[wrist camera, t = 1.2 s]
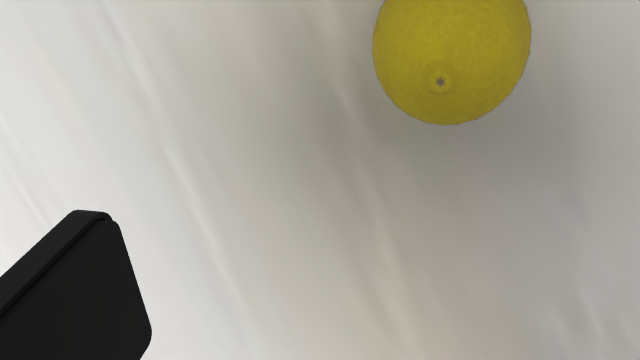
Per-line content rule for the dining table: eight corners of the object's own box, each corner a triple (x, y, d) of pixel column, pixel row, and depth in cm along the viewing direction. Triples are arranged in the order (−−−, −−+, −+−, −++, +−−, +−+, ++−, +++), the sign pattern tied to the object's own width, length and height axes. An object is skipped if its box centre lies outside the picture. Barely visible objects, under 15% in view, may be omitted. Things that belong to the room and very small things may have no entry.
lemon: (528, 68, 25) (536, 158, 18) (399, 78, 27) (364, 164, 20) (527, -70, 22) (535, -22, 16) (384, -49, 24) (338, 3, 18)
